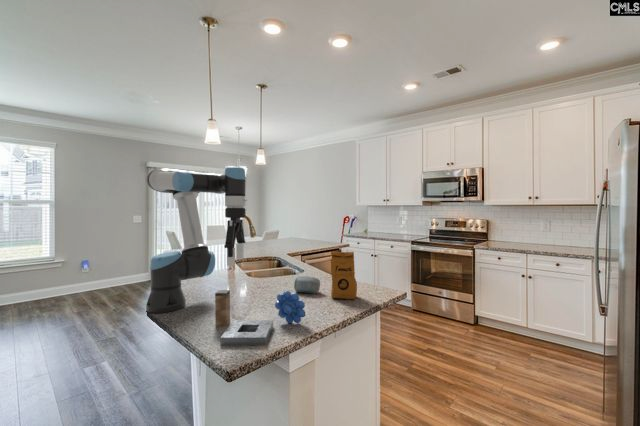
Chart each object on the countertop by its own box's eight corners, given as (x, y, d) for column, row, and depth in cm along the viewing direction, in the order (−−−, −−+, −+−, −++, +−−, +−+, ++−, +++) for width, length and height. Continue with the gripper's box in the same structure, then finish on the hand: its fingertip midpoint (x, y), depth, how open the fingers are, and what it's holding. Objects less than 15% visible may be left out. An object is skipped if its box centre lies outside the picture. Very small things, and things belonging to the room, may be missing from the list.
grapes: (271, 326, 104) (270, 293, 104) (277, 319, 111) (277, 288, 111) (302, 329, 102) (302, 295, 102) (307, 321, 108) (306, 289, 108)
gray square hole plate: (220, 345, 90) (220, 337, 90) (234, 327, 104) (233, 320, 104) (265, 345, 90) (265, 337, 90) (273, 327, 104) (273, 320, 104)
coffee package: (356, 301, 132) (356, 253, 132) (329, 300, 135) (329, 252, 135) (357, 295, 142) (357, 250, 142) (332, 293, 145) (332, 249, 144)
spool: (288, 287, 145) (296, 268, 148) (295, 291, 153) (303, 273, 156) (311, 297, 139) (319, 278, 142) (317, 301, 147) (325, 282, 150)
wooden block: (215, 326, 105) (215, 293, 105) (219, 322, 109) (219, 290, 109) (226, 326, 105) (226, 293, 105) (230, 322, 109) (229, 290, 109)
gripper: (237, 207, 100) (237, 268, 100) (251, 207, 125) (251, 256, 125) (215, 207, 99) (215, 268, 100) (233, 207, 124) (234, 257, 125)
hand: (235, 262), depth 112 cm, fingers open, 13 cm apart
